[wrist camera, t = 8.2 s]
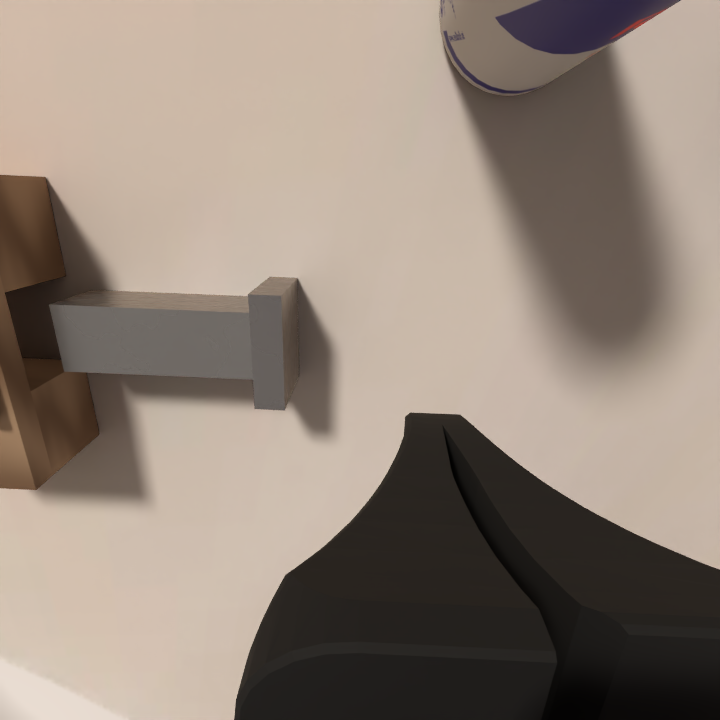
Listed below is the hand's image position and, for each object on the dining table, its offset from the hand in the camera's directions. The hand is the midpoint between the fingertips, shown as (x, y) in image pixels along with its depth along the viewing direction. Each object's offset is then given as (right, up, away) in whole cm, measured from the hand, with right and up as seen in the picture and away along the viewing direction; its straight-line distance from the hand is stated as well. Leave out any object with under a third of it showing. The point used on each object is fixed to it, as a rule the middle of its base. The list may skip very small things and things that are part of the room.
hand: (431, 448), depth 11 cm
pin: (-10, +4, +9) cm, 14 cm away
